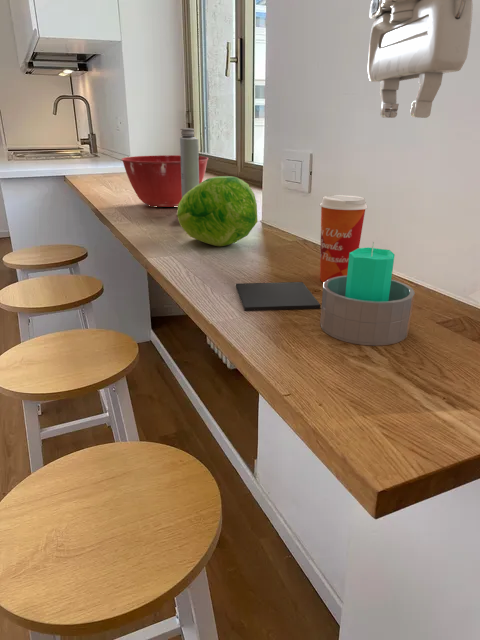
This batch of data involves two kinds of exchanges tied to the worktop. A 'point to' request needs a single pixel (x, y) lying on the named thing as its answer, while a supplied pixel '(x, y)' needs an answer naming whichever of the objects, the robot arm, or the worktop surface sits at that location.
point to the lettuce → (218, 211)
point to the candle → (369, 274)
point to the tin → (366, 314)
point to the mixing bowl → (158, 178)
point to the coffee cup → (339, 232)
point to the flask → (189, 160)
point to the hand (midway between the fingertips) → (402, 117)
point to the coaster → (276, 296)
